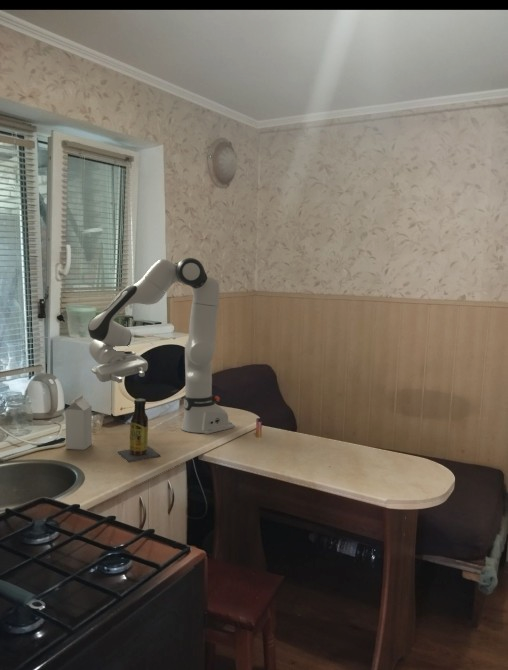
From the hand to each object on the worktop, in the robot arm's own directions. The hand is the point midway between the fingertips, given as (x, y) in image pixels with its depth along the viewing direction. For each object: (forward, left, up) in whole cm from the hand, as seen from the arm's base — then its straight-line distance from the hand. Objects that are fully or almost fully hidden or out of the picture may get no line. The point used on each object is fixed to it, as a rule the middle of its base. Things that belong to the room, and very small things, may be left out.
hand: (131, 378), depth 206 cm
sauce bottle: (+2, +13, -25) cm, 28 cm away
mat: (+2, +13, -26) cm, 29 cm away
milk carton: (+18, -6, -26) cm, 32 cm away
